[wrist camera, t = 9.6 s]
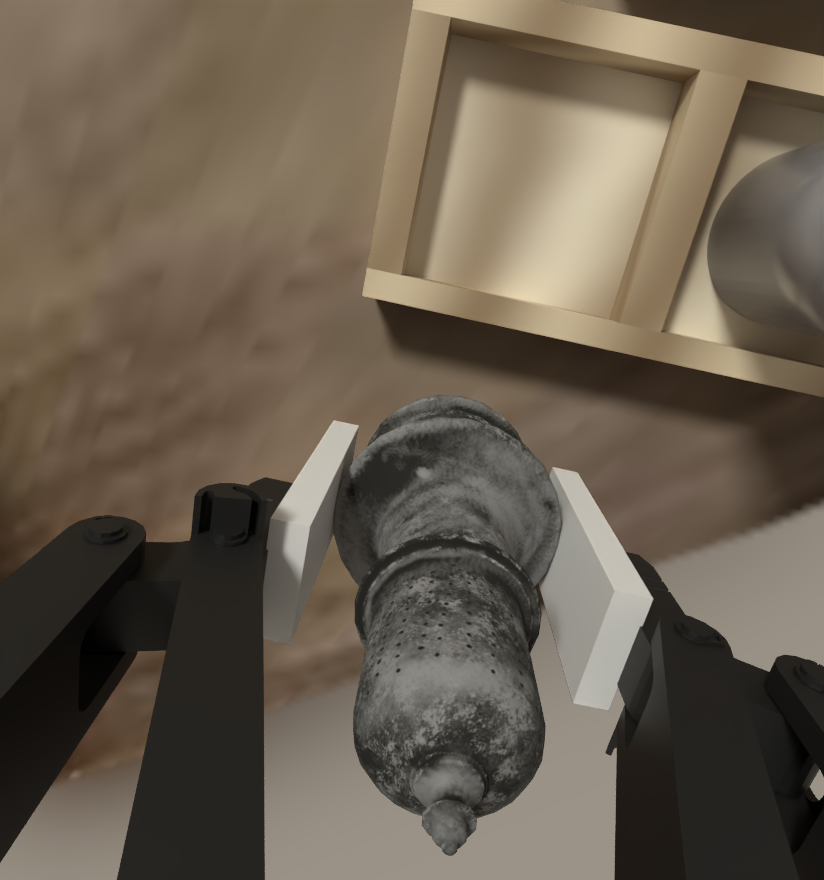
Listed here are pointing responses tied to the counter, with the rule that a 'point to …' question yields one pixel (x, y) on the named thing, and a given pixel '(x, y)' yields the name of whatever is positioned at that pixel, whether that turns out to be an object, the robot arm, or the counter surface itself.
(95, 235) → the counter surface
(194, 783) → the robot arm
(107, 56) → the counter surface
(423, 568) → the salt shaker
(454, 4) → the tray
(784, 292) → the pepper pot
